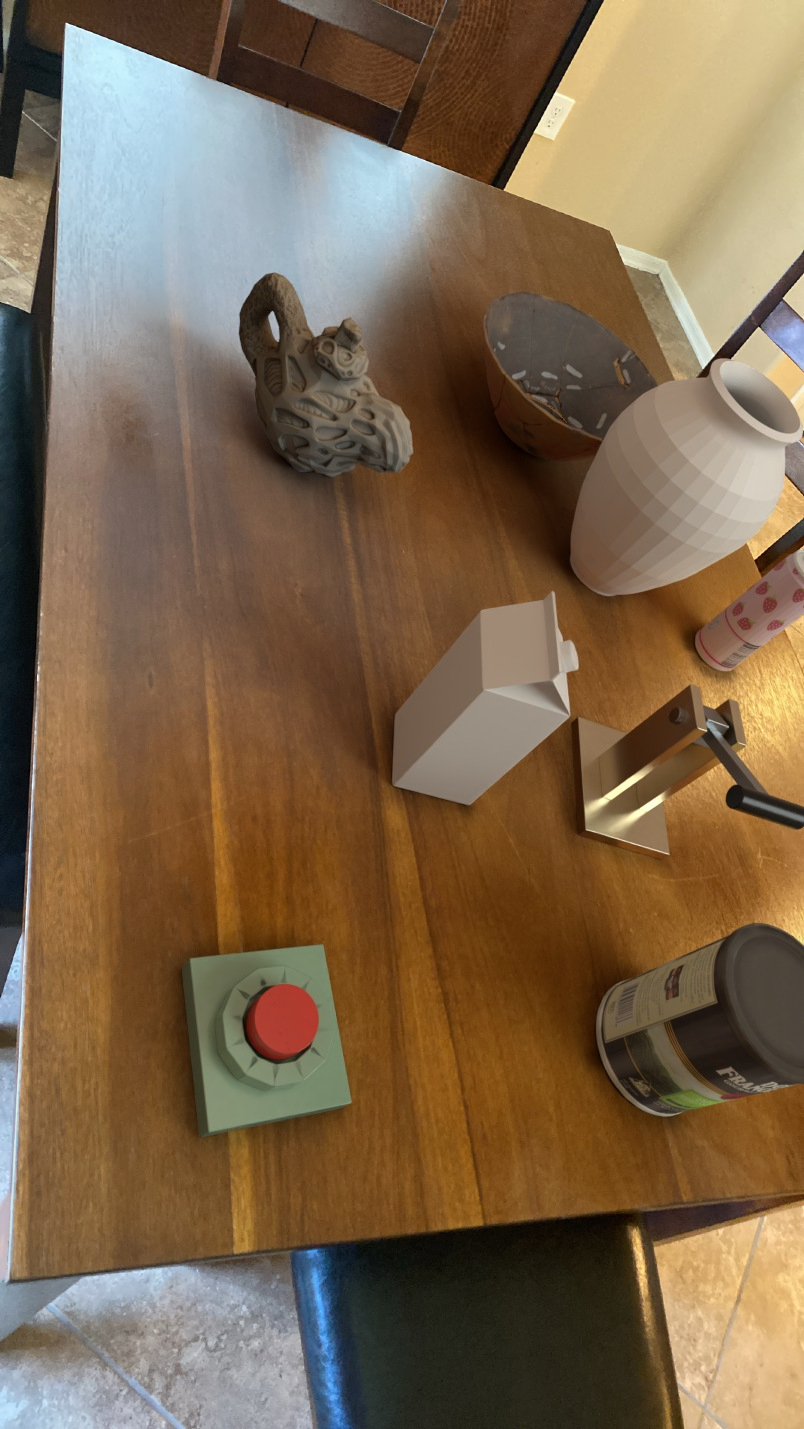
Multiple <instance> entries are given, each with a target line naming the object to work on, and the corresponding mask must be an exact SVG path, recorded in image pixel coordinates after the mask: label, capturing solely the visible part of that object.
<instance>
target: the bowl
mask: <svg viewBox="0 0 804 1429" xmlns="http://www.w3.org/2000/svg"><path fill="white" fill-rule="evenodd" d="M482 318H483V319H482V328H481V329H482V341H483V342H482V344H483V349H484V350H483V351H484V360H485V369H486V379H487V385H488V391H489V395H490V400H491V403H492V406H493V407H492V408H493V412H494V416H495V418H496V421H497V423H498V424H499V427H500V428H501V431H502V432H503V433H504V434H505V435H506V437H507V438H508V439H509V440H510V441H511V442H512V443H513V444H515V445H516V446H517V447H518V448H520V449H521V450H523V451H524V452H526V453H528V454H530V455H532V456H534V457H537V458H539V459H541V460H545V461H550V462H561V463H564V462H565V463H566V462H574V461H580V460H584V459H590V458H595V456H596V454H597V452H598V450H599V448H600V446H601V444H602V442H603V440H604V438H605V436H606V434H607V432H608V430H609V428H610V426H611V425H612V424H613V423H614V421H615V420H616V419H617V418H618V416H619V415H620V414H621V413H622V412H623V411H624V410H625V409H626V408H627V407H628V406H629V405H631V404H632V403H633V402H634V401H635V400H636V399H637V398H639V397H640V396H641V395H642V394H644V393H645V392H647V391H649V390H651V389H653V388H655V387H657V386H659V385H658V383H657V381H656V380H655V377H654V376H653V375H652V374H651V372H650V371H649V369H648V368H647V366H646V365H645V363H644V362H643V361H642V359H641V358H640V356H638V355H637V353H636V351H635V350H634V349H632V348H631V346H630V345H628V344H627V343H626V342H625V341H624V340H623V339H622V338H620V336H618V335H617V334H616V333H615V332H614V331H613V330H612V329H610V328H609V327H607V326H606V325H604V324H603V323H602V322H600V320H598V319H596V318H595V317H594V316H592V315H590V314H588V313H586V312H583V311H582V310H581V309H578V308H576V307H575V306H573V305H571V304H569V303H566V302H564V301H561V300H558V299H555V298H553V297H550V296H546V295H543V294H540V293H534V292H529V291H517V292H510V293H505V294H501V295H498V296H496V297H495V298H493V299H492V300H491V301H490V302H489V304H488V305H487V307H486V309H485V312H484V315H483V317H482ZM618 366H619V370H620V374H621V376H622V379H623V380H624V381H623V383H622V380H621V377H620V375H619V371H618V370H617V368H618ZM526 393H529V395H530V396H532V397H534V398H536V399H538V400H540V401H542V402H544V403H547V405H550V406H552V407H553V409H554V410H555V409H556V411H558V412H559V413H560V414H561V415H562V417H563V418H564V419H565V421H566V422H567V423H566V422H565V421H564V420H563V418H561V417H560V416H559V415H558V414H557V413H556V412H554V411H553V410H552V409H550V408H549V407H547V406H546V405H544V404H542V403H540V402H538V401H536V400H533V399H531V398H529V397H528V396H527V395H526ZM552 407H551V408H552Z"/></svg>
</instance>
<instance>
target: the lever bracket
mask: <svg viewBox="0 0 804 1429" xmlns="http://www.w3.org/2000/svg"><path fill="white" fill-rule="evenodd" d="M702 698H703V697H702V692H701V688H700V687H699V686H696V685H695V684H692V683H691V684H689V685H687V686H686V687H685V688H683V689H682V690H681V691H679V693H677V694H676V695H674V696H673V697H672V698H671V699H669V700H667V702H666V703H664V704H663V705H662V706H660V707H659V708H658V709H657V710H656V711H654V712H653V713H652V714H651V715H649V716H648V717H646V718H645V719H644V720H642V722H640V723H639V724H638V725H636V727H634V728H633V729H631V731H629V732H624V731H620V730H618V729H615V728H612V727H610V726H607V725H604V724H601V723H597V722H595V721H592V720H589V719H587V718H583V717H580V716H577V717H576V718H575V719H573V720H572V721H571V723H570V725H571V742H572V757H573V760H572V761H573V774H574V790H575V791H574V794H575V809H576V823H577V824H576V825H577V836H581V837H584V838H587V839H589V840H590V839H591V840H594V841H597V842H600V843H604V844H608V845H611V846H614V847H618V848H621V849H625V850H628V851H631V852H634V853H638V854H641V855H644V856H648V857H651V858H654V859H658V860H663V859H665V858H667V857H669V856H670V854H671V853H670V847H669V837H668V829H667V822H666V815H665V807H664V806H665V805H664V801H666V800H667V799H668V798H670V797H672V796H673V795H675V794H677V793H678V792H679V791H681V790H682V789H684V788H685V787H687V786H689V785H690V784H692V783H693V782H695V781H696V780H698V779H699V778H701V777H702V776H703V775H705V774H706V773H708V772H710V771H711V770H713V769H714V768H716V767H717V766H718V765H720V764H722V763H721V762H720V761H719V759H718V758H717V757H716V755H715V754H714V753H713V751H712V750H711V749H709V748H707V747H704V746H701V745H698V744H695V743H692V742H693V741H695V740H696V739H697V738H699V737H700V736H702V735H703V734H704V733H706V732H707V727H706V721H705V715H704V709H703V705H704V704H703V699H702ZM739 704H740V703H739V701H736V700H734V699H732V698H728V699H727V700H725V701H724V702H722V703H721V704H720V705H718V706H717V707H715V708H714V709H715V710H716V711H717V713H718V714H719V715H720V716H721V717H722V719H723V720H724V721H725V722H726V724H727V725H728V726H729V728H728V729H727V731H726V732H725V734H724V735H723V737H724V739H725V740H726V741H727V742H728V744H729V745H730V746H731V747H732V749H733V750H734V751H735V752H736V754H738V752H740V751H742V750H743V749H745V748H746V747H747V746H748V744H747V738H746V733H745V728H744V724H743V719H742V715H741V714H742V713H741V709H740V705H739Z"/></svg>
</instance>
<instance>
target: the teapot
mask: <svg viewBox="0 0 804 1429" xmlns="http://www.w3.org/2000/svg"><path fill="white" fill-rule="evenodd" d="M272 312H273V314H274V317H275V320H276V324H277V326H278V338H279V339H278V340H277V339H276V338H275V336H274V333H273V330H272V326H271V322H270V319H269V316H270V315H271V313H272ZM238 315H239V316H238V317H239V323H238V324H239V326H238V337H239V343H240V347H241V351H242V353H243V355H244V358H245V359H246V361H247V362H248V364H249V366H250V368H251V371H252V373H253V375H254V382H255V386H254V405H255V407H256V412H257V414H258V415H257V416H258V419H259V423H260V425H261V427H262V429H263V432H264V433H265V435H266V437H267V439H268V441H269V442H270V444H271V446H272V447H273V449H274V451H275V453H277V454H278V455H279V456H281V457H282V458H284V459H285V460H286V461H287V462H288V463H289V465H290V466H291V467H293V469H295V470H296V471H297V472H298V473H308V472H312V471H313V472H315V473H317V474H322V475H325V476H326V477H328V478H334V477H337V476H339V475H341V474H342V473H348V472H350V471H353V470H354V469H355V468H356V466H357V465H358V464H359V465H361V466H362V467H365V468H368V469H371V471H374V472H376V473H379V474H381V473H385V474H386V473H395V474H399V475H400V473H401V471H403V469H404V468H405V467H406V465H408V463H409V462H410V461H411V460H410V459H411V456H412V455H413V454H414V447H413V432H412V431H411V421H410V420H409V419H408V417H407V416H406V415H405V413H404V411H403V409H402V406H400V405H398V404H396V403H394V402H392V401H391V400H390V399H386V398H384V397H382V396H380V395H379V393H378V391H377V389H376V387H375V385H374V383H373V381H372V379H371V378H370V377H369V376H368V374H366V373H367V372H368V369H369V368H368V367H369V363H370V360H369V356H368V352H367V350H366V348H365V346H364V345H363V343H362V339H363V332H362V327H360V325H359V324H358V323H357V322H356V321H355V320H354V319H353V318H352V317H351V316H350V317H348V318H345V319H343V320H342V321H341V323H340V324H339V326H338V325H334V326H326V327H324V328H323V330H322V332H321V334H320V335H317V336H315V334H314V333H313V331H312V330H311V327H310V326H309V324H308V321H307V317H306V315H305V311H304V307H303V304H302V302H301V300H300V298H299V294H298V292H297V291H296V289H295V287H294V285H293V283H291V281H290V280H289V279H288V278H287V277H286V276H284V275H283V274H281V273H277V272H269V273H265V274H264V275H263V276H262V277H261V278H260V279H258V281H256V282H255V283H254V284H253V286H252V288H251V290H250V292H249V293H248V295H247V297H246V298H245V300H244V302H243V303H242V305H241V308H240V311H239V314H238Z"/></svg>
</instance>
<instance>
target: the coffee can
mask: <svg viewBox="0 0 804 1429" xmlns="http://www.w3.org/2000/svg"><path fill="white" fill-rule="evenodd" d="M595 1037H596V1045H597V1048H598V1053H599V1055H600V1060H601V1062H602V1064H603V1067H604V1069H605V1071H606V1073H607V1075H608V1077H609V1079H610V1080H611V1082H612V1083H613V1086H615V1087H616V1089H617V1090H618V1092H620V1094H621V1095H622V1096H623V1097H624V1098H625V1099H626V1100H627V1101H629V1103H631V1104H632V1105H634V1106H635V1107H636V1108H638V1109H639V1110H642V1111H643V1112H645V1113H647V1114H650V1115H654V1116H658V1117H673V1116H676V1115H679V1114H681V1113H683V1112H689V1111H693V1110H697V1109H700V1108H704V1107H709V1106H713V1105H717V1104H721V1103H725V1102H726V1103H727V1102H729V1101H734V1100H737V1099H742V1098H746V1097H751V1096H755V1095H758V1094H762V1093H768V1092H773V1091H775V1090H780V1089H784V1088H788V1087H792V1086H796V1085H804V944H803V943H802V942H801V941H800V940H798V939H797V938H796V937H795V936H793V935H792V934H790V932H787V931H786V930H784V929H782V928H780V927H778V926H775V925H772V924H768V923H764V922H752V923H749V924H746V925H743V926H740V927H739V928H736V929H735V930H733V931H732V932H730V934H728V935H726V936H724V937H721V938H719V939H717V940H714V941H712V942H710V943H707V944H706V945H703V946H701V947H698V948H697V949H694V950H692V951H690V952H687V953H685V954H682V955H680V956H679V957H676V958H674V959H671V960H669V961H667V962H665V963H662V964H660V965H659V966H656V967H653V968H652V969H648V970H647V971H645V972H642V973H640V974H637V975H636V976H633V977H631V978H627V979H625V980H622V981H619V982H617V983H616V984H614V985H613V986H612V987H610V988H609V989H608V990H607V991H606V993H605V994H604V995H603V996H602V999H601V1002H600V1004H599V1007H598V1009H597V1014H596V1020H595Z"/></svg>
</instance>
